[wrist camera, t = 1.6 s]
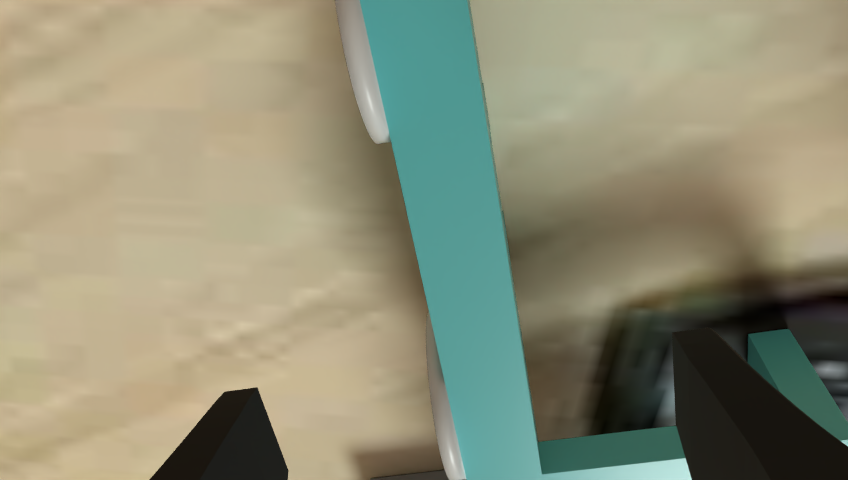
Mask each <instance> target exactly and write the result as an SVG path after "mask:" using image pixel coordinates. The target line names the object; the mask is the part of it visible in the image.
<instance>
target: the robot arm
mask: <svg viewBox="0 0 848 480" xmlns="http://www.w3.org/2000/svg"><path fill="white" fill-rule="evenodd" d="M672 343H673V366H674V390H675V414H676V426H677V430H678V434H679V437H680V441H681V444H682V448H683V451H684V455H685V458H686V462H687V465H688V468H689V472H690V475H691V478H692V480H848V446H847V445H845V444H844V443H842V442H841V441H840V440H838V439H837V438H836V437H835V436H833V435H832V434H831V433H829V432H828V431H827V430H825V429H824V428H823V427H821V426H820V425H819V424H818V423H816V422H815V421H814V420H813V419H811V418H810V417H809V416H808V415H806V414H805V413H804V412H803V411H801V410H800V409H799V408H798V407H797V406H795V405H794V404H793V403H792V402H791V401H790V400H788V399H787V398H786V397H785V396H784V395H783V394H781V393H780V392H779V391H778V390H777V389H776V388H774V387H773V386H772V385H771V384H770V383H769V382H768V381H767V380H765V379H764V378H763V377H762V376H761V375H760V374H759V373H758V372H757V371H756V370H755V369H753V368H752V367H751V366H750V365H749V364H748V363H747V362H746V361H745V360H744V359H743V358H742V357H741V356H740V355H739V354H738V353H737V352H736V351H735V350H733V349H732V348H731V347H730V346H729V345H728V344H727V343H726V342H725V341H724V340H723V339H722V338H721V337H720V336H719V335H718V334H717V333H716V332H715V331H714V330H712V329H711V328H702V329H695V330H687V331H680V332H672ZM150 480H288V469H287V466H286V463H285V461H284V458H283V455H282V452H281V450H280V447H279V444H278V442H277V439H276V436H275V434H274V431H273V428H272V426H271V423H270V420H269V418H268V415H267V412H266V410H265V407H264V404H263V402H262V399H261V396H260V394H259V391H258V388H250V389H242V390H235V391H227V392H224V393H223V394H222V395H221V396H220V397H219V399H218V400H217V401H216V402H215V403H214V404H213V405H212V407H211V408H210V409H209V410H208V411H207V413H206V414H205V415H204V416H203V417H202V419H201V420H200V421H199V422H198V423H197V425H196V426H195V427H194V428H193V429H192V431H191V432H190V433H189V434H188V435H187V437H186V438H185V439H184V440H183V441H182V443H181V444H180V445H179V446H178V447H177V448H176V450H175V451H174V452H173V453H172V454H171V455H170V457H169V458H168V459H167V460H166V461H165V462H164V464H163V465H162V466H161V467H160V468H159V469H158V471H157V472H156V473H155V474H154V475H153V476H152V478H151V479H150Z"/></svg>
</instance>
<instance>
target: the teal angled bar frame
mask: <svg viewBox="0 0 848 480" xmlns="http://www.w3.org/2000/svg"><path fill="white" fill-rule="evenodd" d="M335 4H336V11H337V17H338V23H339V29H340V34H341V39H342V44H343V49H344V54H345V59H346V63H347V67H348V72H349V76H350V79H351V83H352V87H353V91H354V94H355V98H356V101H357V104H358V107H359V111H360V113H361V116H362V119H363V122H364V124H365V127H366V129H367V131H368V133H369V135H370V137H371V138H372V140H373V141H374V142H375V143H377V144H381V143H387V142H391V143H392V148H393V152H394V157H395V161H396V166H397V170H398V175H399V179H400V184H401V188H402V193H403V197H404V202H405V206H406V211H407V215H408V220H409V224H410V229H411V233H412V238H413V242H414V247H415V251H416V256H417V260H418V265H419V269H420V273H421V278H422V282H423V287H424V291H425V296H426V300H427V305H428V309H429V312H428V314H427V319H426V355H427V369H428V380H429V389H430V397H431V405H432V412H433V418H434V425H435V430H436V436H437V441H438V446H439V450H440V455H441V459H442V463H443V466H444V469H445V472H446V475H447V477H448V479H449V480H463V479H466V480H692V478H691V475H690V472H689V468H688V465H687V462H686V458H685V455H684V451H683V448H682V444H681V441H680V437H679V434H678V430H677V426H669V427H660V428H652V429H643V430H635V431H627V432H618V433H610V434H601V435H593V436H584V437H576V438H567V439H559V440H550V441H542V442H538V437H537V430H536V423H535V417H534V410H533V404H532V397H531V391H530V385H529V378H528V372H527V365H526V359H525V353H524V346H523V340H522V333H521V327H520V321H519V314H518V308H517V301H516V295H515V289H514V282H513V276H512V269H511V261H510V253H509V246H508V240H507V233H506V227H505V220H504V214H503V211H502V206H501V199H500V193H499V186H498V180H497V174H496V167H495V161H494V154H493V148H492V140H491V132H490V124H489V118H488V111H487V105H486V98H485V92H484V85H483V83H482V78H481V71H480V65H479V58H478V52H477V46H476V39H475V33H474V26H473V20H472V14H471V7H470V1H469V0H335ZM748 364H749V365H750V366H751V367H752V368H753V369H755V370H756V371H757V372H758V373H759V374H760V375H761V376H762V377H763V378H764V379H765V380H767V381H768V382H769V383H770V384H771V385H772V386H773V387H774V388H776V389H777V390H778V391H779V392H780V393H781V394H783V395H784V396H785V397H786V398H787V399H788V400H790V401H791V402H792V403H793V404H794V405H795V406H797V407H798V408H799V409H800V410H801V411H803V412H804V413H805V414H806V415H808V416H809V417H810V418H811V419H813V420H814V421H815V422H816V423H818V424H819V425H820V426H821V427H823V428H824V429H825V430H827V431H828V432H829V433H831V434H832V435H833V436H835V437H836V438H837V439H838V440H840V441H841V442H842V443H844V444H845V445H847V446H848V422H847V421H846V419H845V417H844V416H843V414H842V413H841V411H840V409H839V408H838V406H837V405H836V403H835V402H834V400H833V398H832V397H831V395H830V394H829V392H828V390H827V389H826V387H825V386H824V384H823V382H822V381H821V379H820V378H819V376H818V375H817V373H816V371H815V370H814V368H813V367H812V365H811V363H810V362H809V360H808V359H807V357H806V355H805V354H804V352H803V351H802V349H801V348H800V346H799V344H798V343H797V341H796V340H795V338H794V336H793V335H792V333H791V332H790V330H789V329H783V330H775V331H767V332H760V333H752V334H748Z"/></svg>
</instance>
